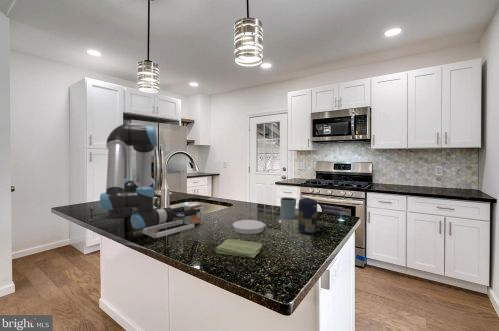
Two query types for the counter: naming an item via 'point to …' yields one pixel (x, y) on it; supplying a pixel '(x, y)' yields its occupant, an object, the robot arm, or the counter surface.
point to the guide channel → (167, 232)
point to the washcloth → (239, 248)
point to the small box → (193, 218)
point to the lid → (248, 226)
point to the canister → (307, 216)
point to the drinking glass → (288, 208)
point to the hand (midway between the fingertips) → (200, 208)
